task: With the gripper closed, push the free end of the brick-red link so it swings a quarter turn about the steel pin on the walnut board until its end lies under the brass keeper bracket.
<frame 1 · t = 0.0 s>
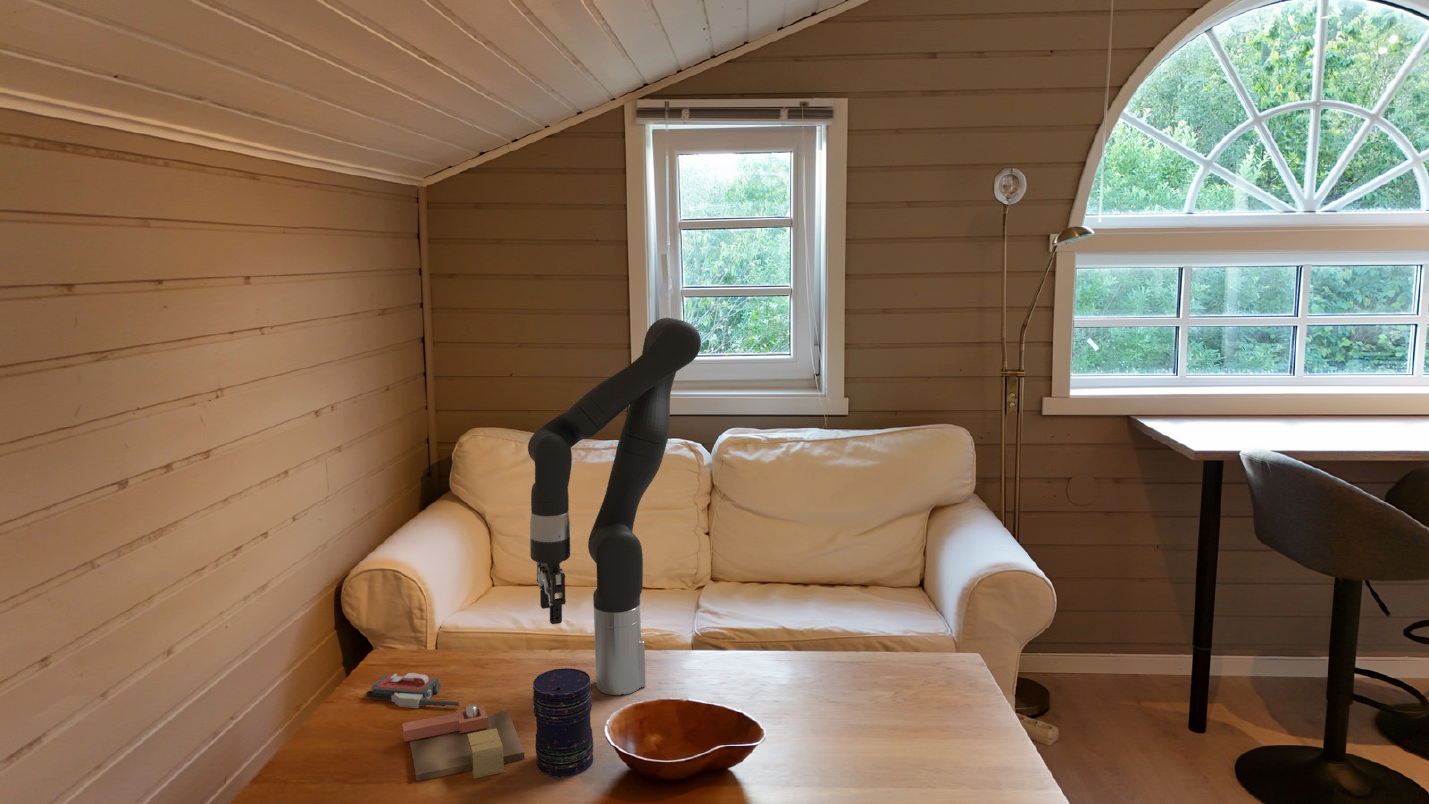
hand: (550, 615, 184), 17 cm above the table, tool pointing down, fingers open, 8 cm apart
storage jar: (565, 763, 164), on the table
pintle: (472, 731, 175), resting on board
board: (465, 747, 169), on the table
walkie-talkie: (418, 700, 188), on the table
link: (445, 724, 172), point 2 cm above the table, hinge at 0.0°
keeper: (488, 771, 161), on the table
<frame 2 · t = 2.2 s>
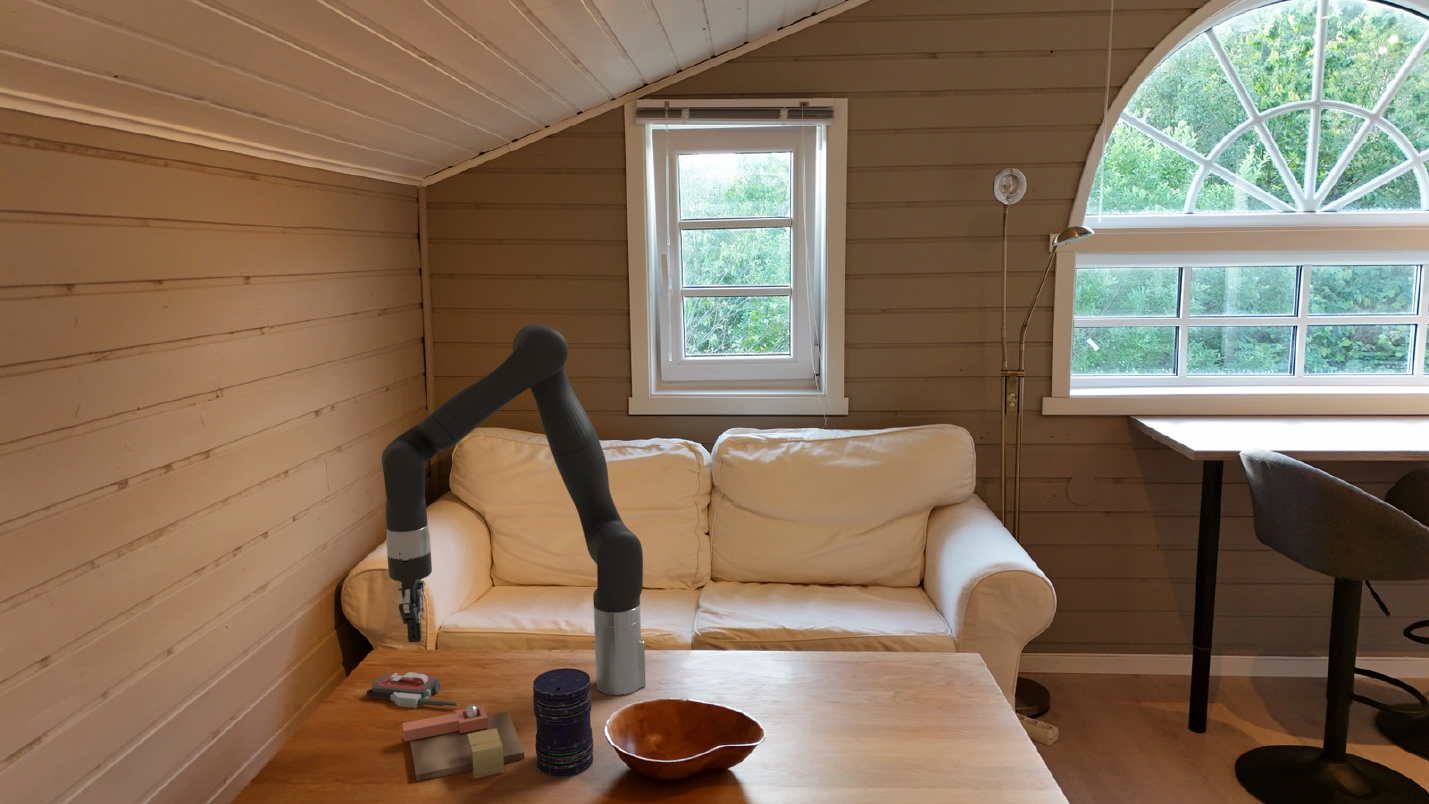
hand: (415, 640, 175), 16 cm above the table, tool pointing down, fingers closed
nothing on the table moved.
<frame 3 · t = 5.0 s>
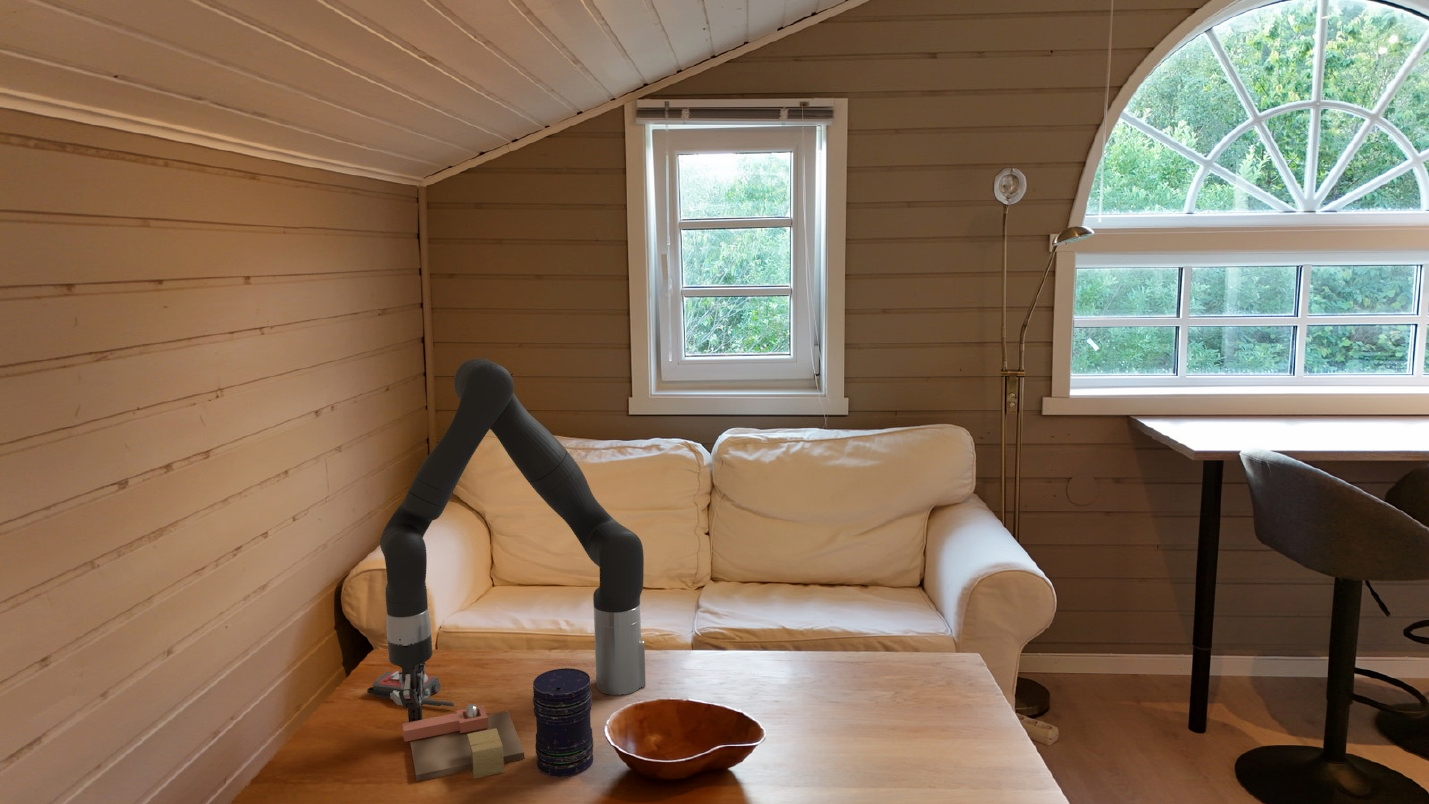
hand: (415, 723, 173), 2 cm above the table, tool pointing down, fingers closed
link: (445, 724, 172), point 2 cm above the table, hinge at 0.3°, touching gripper
everything else where it was.
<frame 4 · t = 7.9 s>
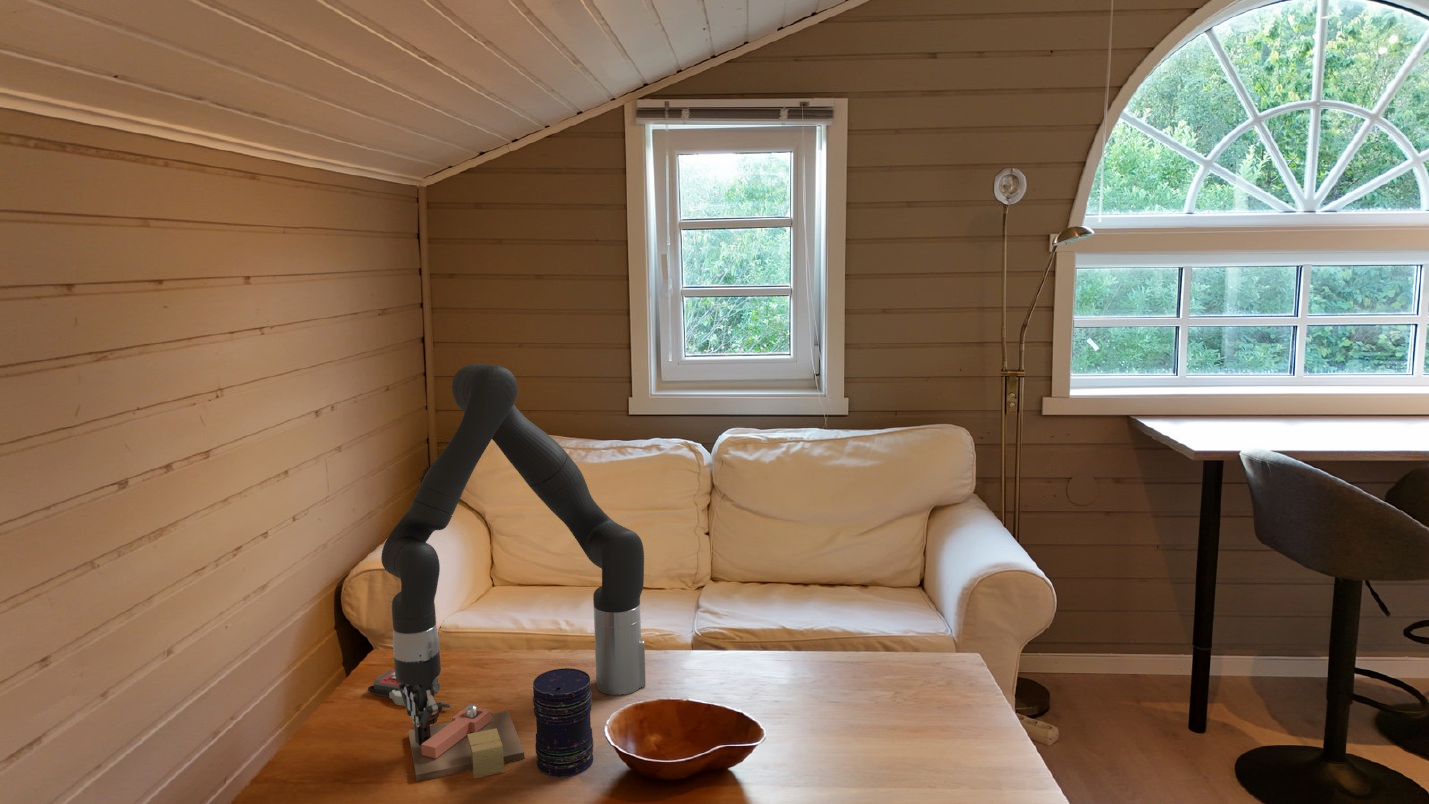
hand: (423, 742, 167), 2 cm above the table, tool pointing down, fingers closed
link: (455, 731, 170), point 2 cm above the table, hinge at 45.0°, touching gripper
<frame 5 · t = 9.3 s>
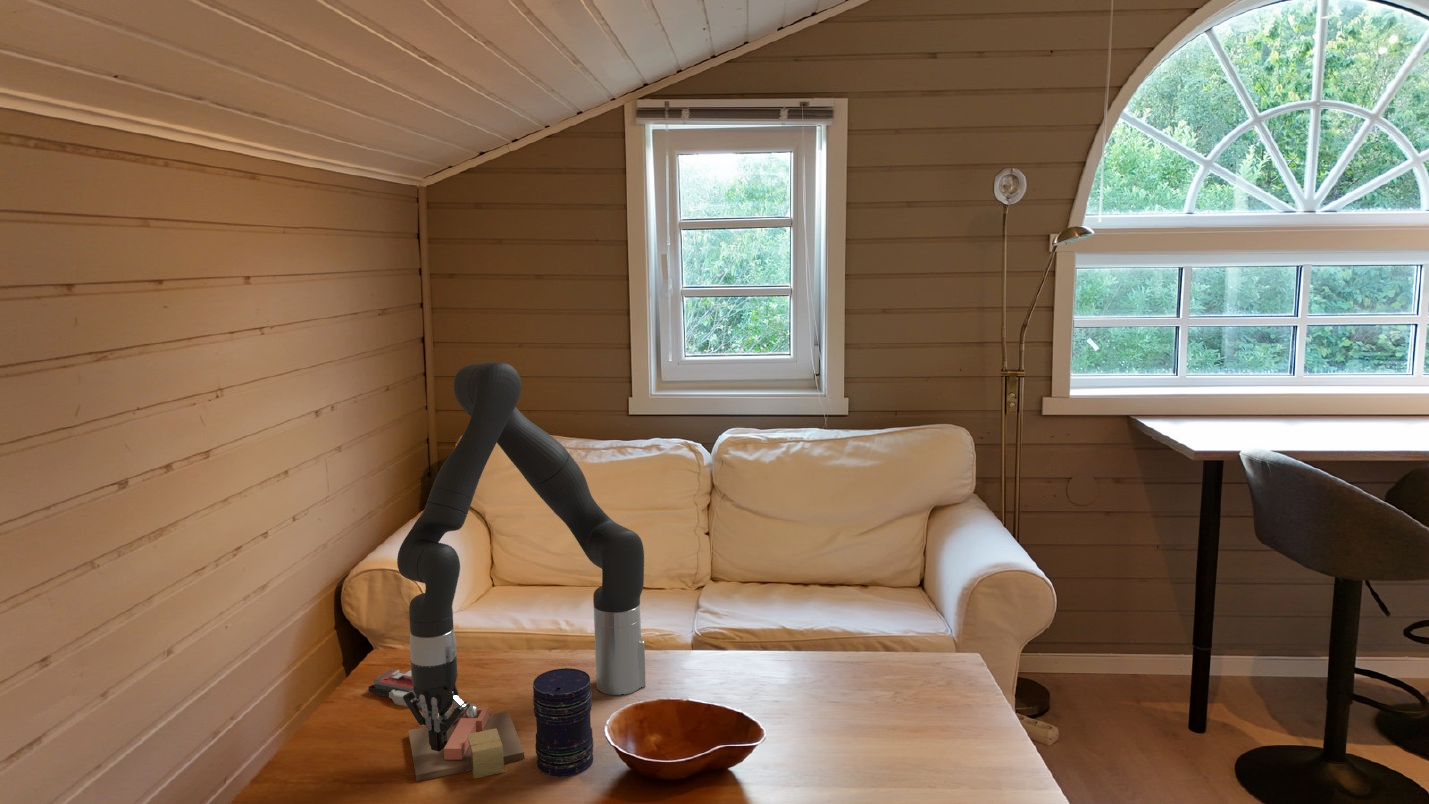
hand: (438, 748, 165), 2 cm above the table, tool pointing down, fingers closed
link: (464, 732, 169), point 2 cm above the table, hinge at 66.8°, touching gripper
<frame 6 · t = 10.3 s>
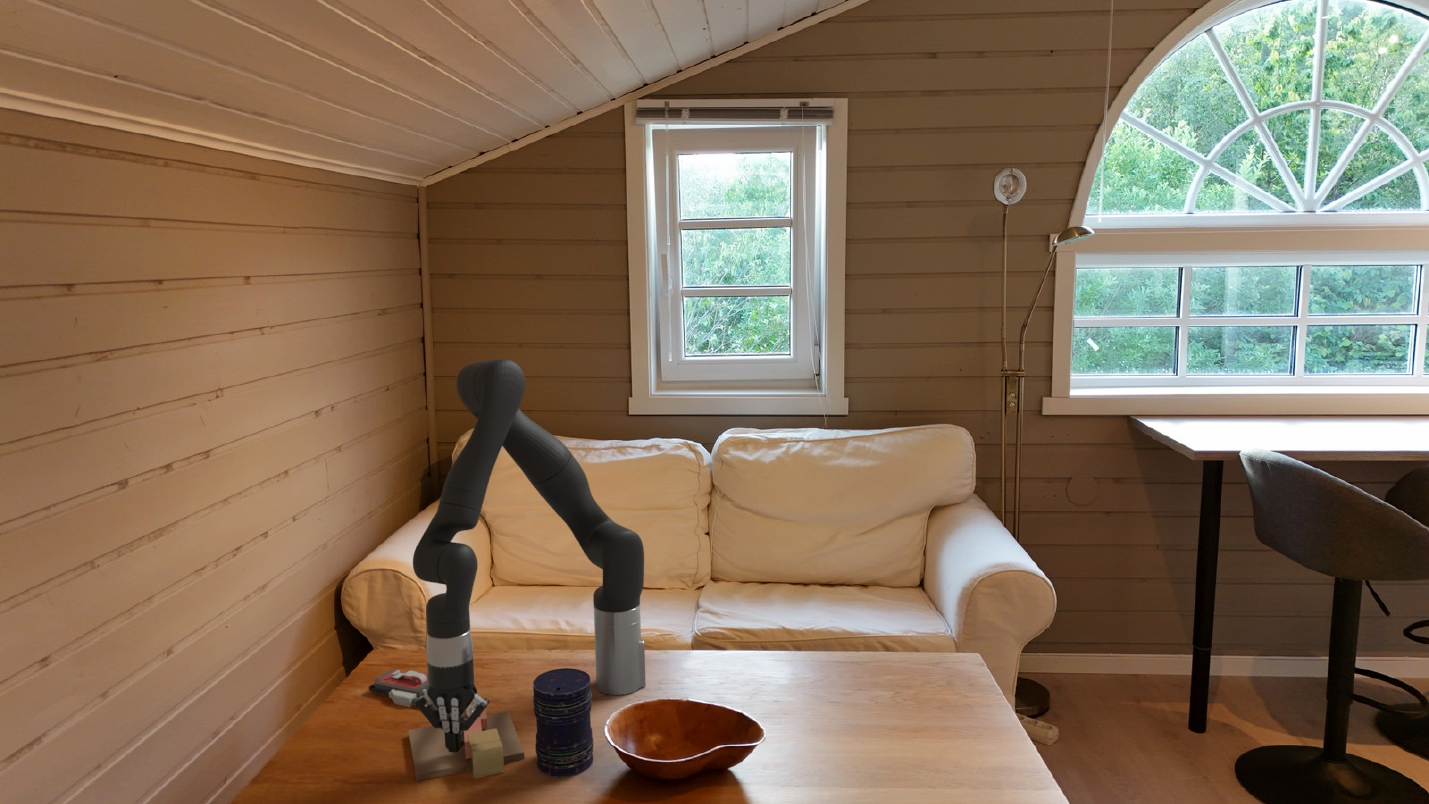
hand: (455, 749, 164), 2 cm above the table, tool pointing down, fingers closed
link: (472, 731, 170), point 2 cm above the table, hinge at 84.0°
everything else where it was.
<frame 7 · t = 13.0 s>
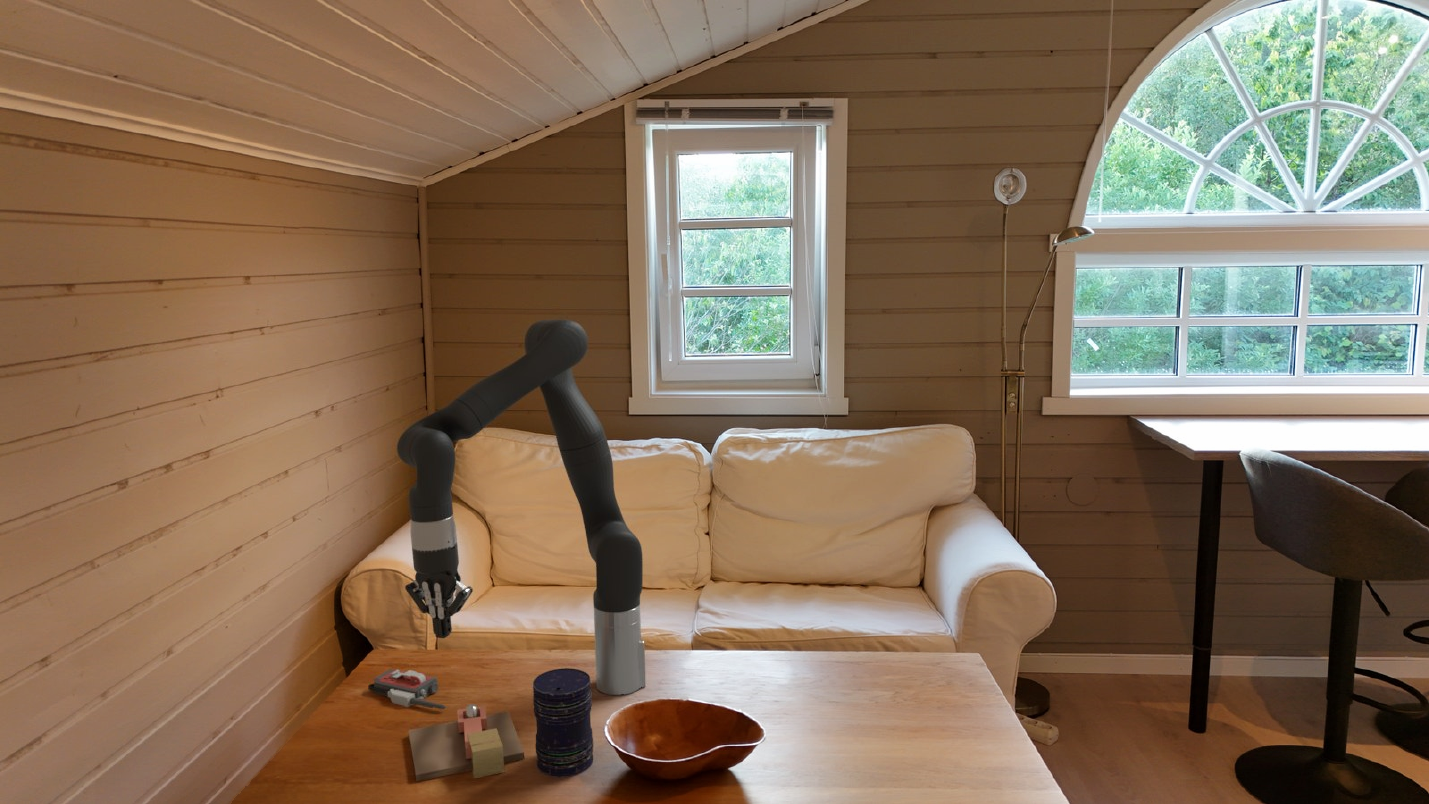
hand: (443, 636, 167), 21 cm above the table, tool pointing down, fingers closed
link: (473, 731, 170), point 2 cm above the table, hinge at 84.4°
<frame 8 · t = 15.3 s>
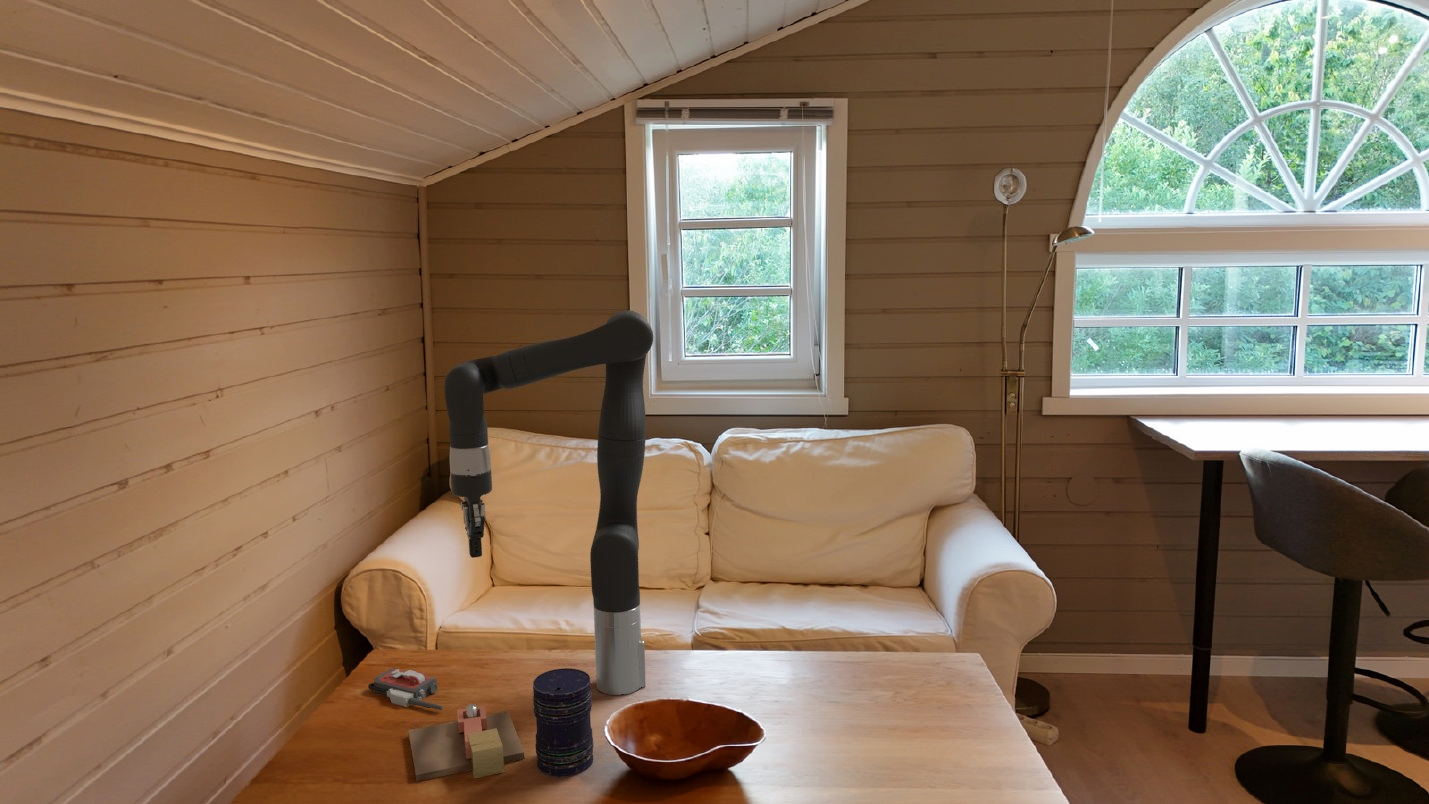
hand: (475, 556, 183), 29 cm above the table, tool pointing down, fingers closed
at the end: link at +84° (first picture: +0°); the gripper is holding nothing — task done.
